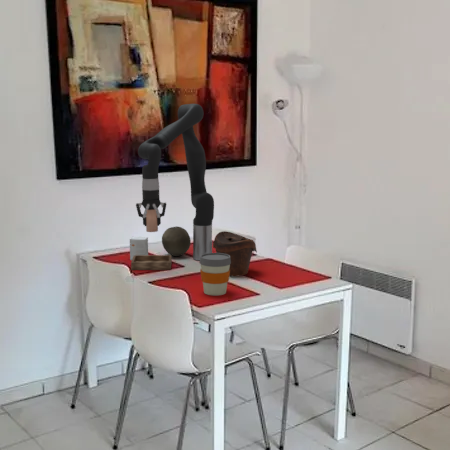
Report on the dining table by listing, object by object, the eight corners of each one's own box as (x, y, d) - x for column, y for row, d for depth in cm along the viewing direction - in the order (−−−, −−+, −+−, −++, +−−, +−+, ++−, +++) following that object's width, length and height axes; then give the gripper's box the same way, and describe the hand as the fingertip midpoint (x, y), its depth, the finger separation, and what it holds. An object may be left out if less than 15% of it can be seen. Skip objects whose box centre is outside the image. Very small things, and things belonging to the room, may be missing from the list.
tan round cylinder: (158, 229, 285) (157, 208, 283) (157, 232, 280) (157, 210, 278) (146, 229, 284) (145, 208, 283) (146, 232, 279) (145, 210, 277)
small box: (148, 257, 309) (148, 237, 307) (146, 260, 303) (145, 239, 301) (132, 257, 309) (132, 236, 307) (129, 260, 304) (129, 238, 302)
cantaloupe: (165, 252, 320) (164, 223, 317) (192, 253, 318) (192, 224, 315) (159, 259, 306) (159, 229, 303) (188, 260, 305) (188, 230, 302)
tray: (171, 262, 300) (171, 255, 300) (170, 269, 286) (170, 262, 286) (133, 262, 299) (133, 255, 299) (131, 270, 285) (131, 262, 285)
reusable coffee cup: (193, 293, 251) (193, 257, 249) (211, 286, 262) (211, 251, 259) (219, 298, 245) (219, 261, 242) (236, 291, 255) (236, 255, 252)
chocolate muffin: (253, 279, 272) (253, 238, 269) (208, 276, 276) (208, 236, 273) (259, 269, 290) (259, 231, 287) (217, 267, 294) (217, 229, 291)
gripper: (167, 186, 283) (167, 223, 286) (135, 187, 281) (136, 224, 285) (166, 189, 275) (167, 227, 279) (134, 189, 274) (135, 227, 278)
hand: (151, 225), depth 282 cm, fingers closed on tan round cylinder, 5 cm apart
